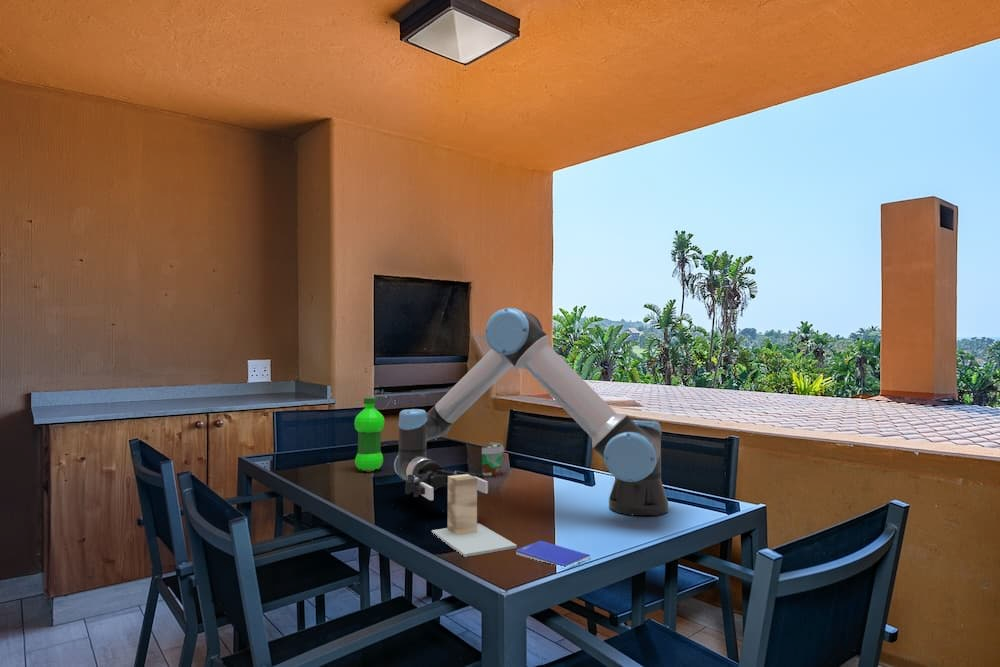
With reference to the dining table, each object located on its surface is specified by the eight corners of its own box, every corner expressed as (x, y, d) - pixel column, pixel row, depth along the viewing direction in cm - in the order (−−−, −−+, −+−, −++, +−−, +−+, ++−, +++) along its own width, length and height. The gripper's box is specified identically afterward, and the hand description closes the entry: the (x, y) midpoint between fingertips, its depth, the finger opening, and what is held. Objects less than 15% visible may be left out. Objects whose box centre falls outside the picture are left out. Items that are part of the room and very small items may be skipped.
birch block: (447, 529, 135) (447, 476, 136) (467, 526, 138) (467, 474, 138) (456, 535, 131) (456, 480, 131) (476, 532, 133) (477, 478, 134)
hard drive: (516, 549, 120) (565, 564, 112) (541, 539, 126) (590, 553, 118) (516, 557, 120) (565, 573, 112) (541, 547, 126) (590, 561, 118)
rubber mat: (431, 533, 134) (431, 530, 134) (479, 525, 140) (479, 523, 140) (464, 557, 118) (464, 554, 118) (516, 548, 124) (516, 545, 124)
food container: (500, 479, 191) (500, 448, 192) (481, 478, 193) (481, 447, 193) (507, 472, 203) (507, 442, 204) (489, 471, 205) (489, 442, 205)
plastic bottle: (347, 472, 202) (348, 398, 203) (367, 467, 212) (367, 396, 213) (371, 475, 198) (372, 399, 199) (390, 469, 207) (390, 397, 208)
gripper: (469, 483, 159) (507, 501, 141) (378, 493, 148) (407, 514, 129) (469, 455, 160) (507, 469, 141) (378, 463, 148) (407, 479, 129)
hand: (460, 490), depth 135 cm, fingers open, 13 cm apart
